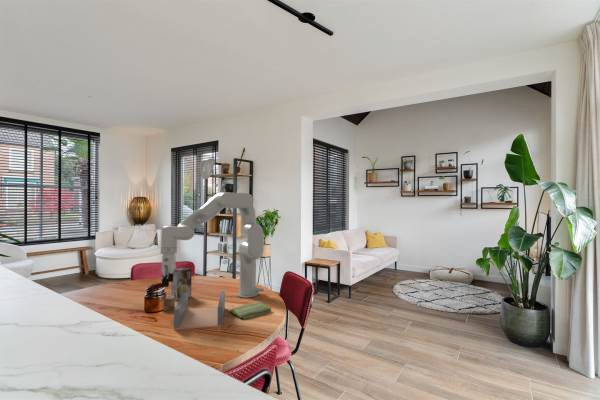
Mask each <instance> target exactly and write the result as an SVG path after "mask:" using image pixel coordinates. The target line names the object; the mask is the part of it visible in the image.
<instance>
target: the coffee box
mask: <svg viewBox="0 0 600 400" xmlns="http://www.w3.org/2000/svg"><path fill="white" fill-rule="evenodd" d="M170 284H171V286H170V289H171V290H170V294H171V295H170V296H175V301H180V299H181V297H182V296H183V294H184V293H188V298H191V297H192V268H188V267H180V268H176V269H175V271H174V272H173V282H170Z"/></svg>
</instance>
